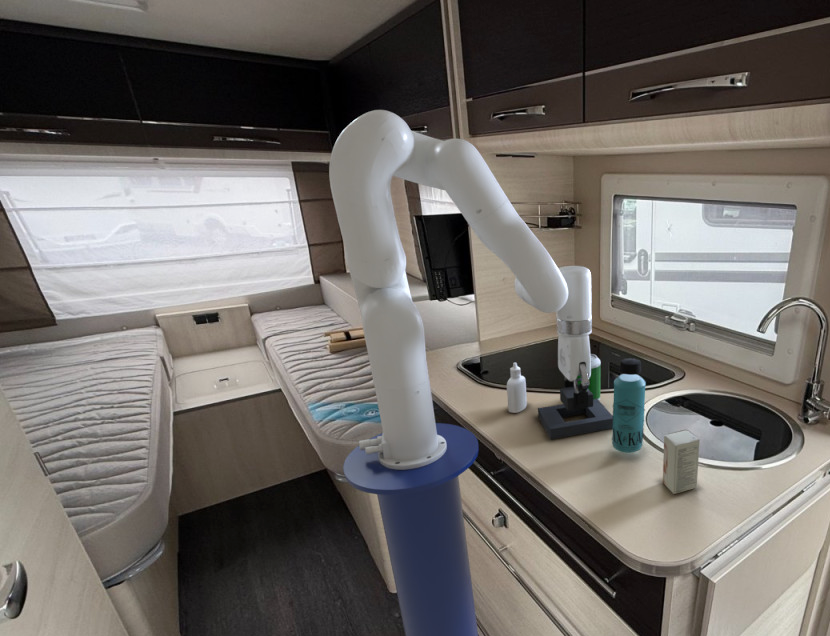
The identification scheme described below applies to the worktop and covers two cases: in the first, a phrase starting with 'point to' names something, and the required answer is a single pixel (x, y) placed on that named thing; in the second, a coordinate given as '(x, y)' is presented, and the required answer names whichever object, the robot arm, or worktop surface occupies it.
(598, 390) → the soda can
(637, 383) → the beverage bottle
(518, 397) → the eye dropper bottle
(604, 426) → the socket block
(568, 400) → the black block
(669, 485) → the medicine box
